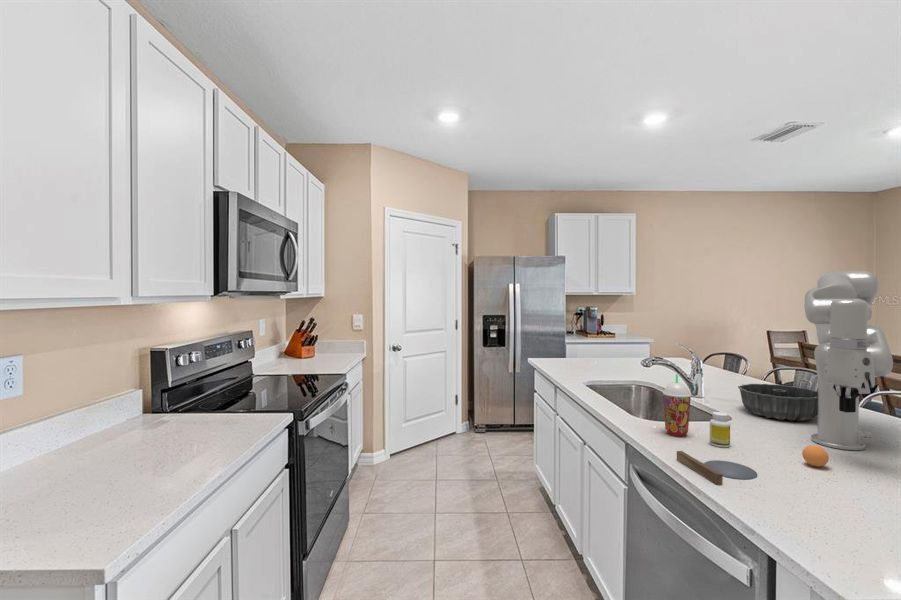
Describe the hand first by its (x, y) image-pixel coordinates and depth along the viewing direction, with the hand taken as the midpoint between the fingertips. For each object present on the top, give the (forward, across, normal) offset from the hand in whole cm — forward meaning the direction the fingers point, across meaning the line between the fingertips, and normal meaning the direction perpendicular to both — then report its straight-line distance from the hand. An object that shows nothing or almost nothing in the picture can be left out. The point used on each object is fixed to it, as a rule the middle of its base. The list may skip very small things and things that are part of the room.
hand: (847, 411), depth 118 cm
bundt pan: (+15, +46, -23) cm, 54 cm away
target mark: (+15, 0, +34) cm, 37 cm away
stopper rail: (+15, 0, +43) cm, 46 cm away
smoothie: (+15, +29, +30) cm, 45 cm away
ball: (+12, 0, +9) cm, 15 cm away
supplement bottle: (+15, +18, +23) cm, 33 cm away
